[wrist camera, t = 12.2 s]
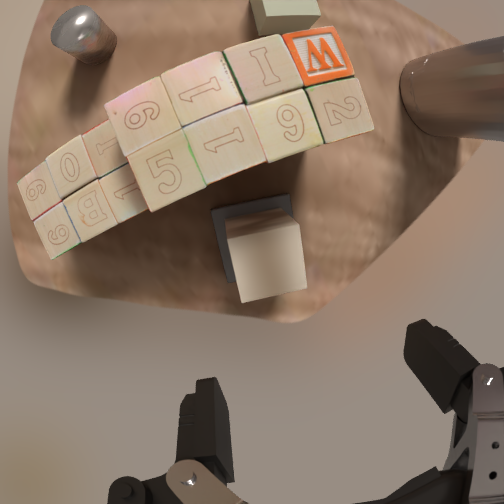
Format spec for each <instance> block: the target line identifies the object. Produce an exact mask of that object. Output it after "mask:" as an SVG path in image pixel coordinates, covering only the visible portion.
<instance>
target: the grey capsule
mask: <svg viewBox="0 0 504 504" xmlns="http://www.w3.org/2000/svg"><path fill="white" fill-rule="evenodd" d="M51 41H52V43H53V45H55V46H56V47H58V48H60V49H61V50H63V51H65V52H67V53H68V54H70V55H72V56H74V57H75V58H77V59H79V60H80V61H82V62H84V63H85V64H88V65H95V64H99V63H101V62H103V61H104V60H106V59H107V58H108V57H109V56H110V55H111V54H112V53H113V51H114V49H115V47H116V44H117V38H116V35H115V33H114V32H113V31H112V30H111V29H110V28H109V27H108V26H107V25H106V23H105V22H104V21H103V20H102V19H101V18H100V17H99V16H98V15H97V14H96V13H95V12H94V11H93V10H92V9H91V8H90V7H89V6H85V5H80V6H76V7H73V8H71V9H69V10H68V11H66V12H65V13H64V14H62V15H61V16H60V17H59V19H58V20H57V21H56V23H55V24H54V26H53V28H52V31H51Z"/></svg>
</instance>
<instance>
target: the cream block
mask: <svg viewBox="0 0 504 504" xmlns="http://www.w3.org/2000/svg"><path fill="white" fill-rule="evenodd" d="M225 226H226V234H227V241H228V246H229V250H230V254H231V259H232V263H233V268H234V272H235V276H236V281H237V285H238V289H239V294H240V298H241V302H242V303H245V302H249V301H254V300H258V299H263V298H267V297H272V296H276V295H280V294H285V293H289V292H293V291H297V290H301V289H305V288H307V282H306V273H305V265H304V257H303V249H302V242H301V234H300V227H299V224H298V223H297V222H296V221H295V220H294V219H293V218H292V217H291V216H290V215H288V214H287V213H286V212H285V211H284V210H283V209H282V208H276V209H271V210H266V211H261V212H256V213H251V214H247V215H242V216H237V217H232V218H228V219H225Z"/></svg>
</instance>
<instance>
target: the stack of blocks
mask: <svg viewBox="0 0 504 504" xmlns="http://www.w3.org/2000/svg"><path fill="white" fill-rule="evenodd" d="M354 75H355V73H354V69H353V66H352V64H351V62H350V59H349V57H348V55H347V52H346V50H345V48H344V46H343V44H342V42H341V39H340V37H339V35H338V33H337V31H336V30H335V28H334V27H333V26H327V27H320V28H314V29H308V30H302V31H297V32H291V33H286V34H283V35H281V36H280V35H278V34H275V35H271V36H267V37H263V38H260V39H256V40H253V41H249V42H246V43H242V44H239V45H236V46H233V47H230V48H227V49H225V50H224V51H222V52H218V51H215V52H212V53H209V54H206V55H203V56H201V57H199V58H196V59H194V60H191V61H188V62H186V63H184V64H181V65H179V66H177V67H174V68H172V69H170V70H168V71H166V72H164V73H162V74H161V75H160V76H158V77H154V78H152V79H150V80H148V81H146V82H144V83H142V84H140V85H138V86H136V87H134V88H132V89H131V90H129V91H127V92H125V93H123V94H121V95H120V96H118V97H116V98H114V99H113V100H111V101H109V102H107V103H106V104H105V105H104V108H105V110H106V113H107V115H108V118H109V119H108V120H106V121H104V122H103V123H101V124H99V125H97V126H96V127H94V128H92V129H91V130H89V131H87V132H86V133H84V134H83V135H79V136H77V137H76V138H74V139H72V140H71V141H69V142H68V143H66V144H65V145H63V146H62V147H60V148H59V149H58V150H56V151H55V152H53V153H52V154H51V155H49V156H48V157H47V158H46V160H45V161H44V162H42V163H41V164H40V165H38V166H37V167H36V168H34V169H33V170H32V171H30V172H29V173H28V174H27V175H26V176H24V177H23V178H22V179H21V180H19V181H18V182H17V184H18V187H19V190H20V193H21V195H22V198H23V200H24V203H25V206H26V208H27V211H28V213H29V216H30V218H31V220H32V221H33V222H34V225H35V227H36V230H37V232H38V234H39V236H40V238H41V240H42V242H43V244H44V247H45V249H46V250H47V253H48V255H49V256H50V258H51V260H53V259H55V258H57V257H58V256H60V255H62V254H63V253H65V252H67V251H68V250H70V249H72V248H74V247H75V246H77V245H78V244H80V243H83V242H86V241H87V240H89V239H91V238H93V237H95V236H97V235H98V234H100V233H102V232H104V231H106V230H108V229H110V228H112V227H114V226H115V225H117V224H119V223H122V222H124V221H126V220H128V219H130V218H132V217H134V216H136V215H138V214H139V213H141V212H143V211H145V210H147V209H149V210H150V212H154V211H156V210H158V209H160V208H163V207H165V206H167V205H169V204H171V203H173V202H175V201H178V200H180V199H182V198H184V197H186V196H188V195H190V194H193V193H195V192H197V191H199V190H202V189H204V188H206V187H207V186H208V185H209V184H211V183H214V182H216V181H219V180H221V179H223V178H226V177H228V176H231V175H233V174H236V173H238V172H240V171H243V170H246V169H248V168H251V167H253V166H256V165H258V164H261V163H263V162H265V163H271V162H274V161H277V160H280V159H283V158H285V157H288V156H291V155H294V154H296V153H299V152H302V151H305V150H308V149H311V148H314V147H318V146H320V145H322V144H329V143H332V142H336V141H339V140H342V139H346V138H349V137H353V136H356V135H360V134H363V133H367V132H370V131H373V130H374V125H373V122H372V119H371V116H370V113H369V110H368V107H367V104H366V101H365V98H364V95H363V92H362V89H361V86H360V83H359V80H358V78H355V77H354Z"/></svg>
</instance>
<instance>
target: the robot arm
mask: <svg viewBox="0 0 504 504" xmlns="http://www.w3.org/2000/svg"><path fill="white" fill-rule="evenodd" d="M400 88H401V95H402V99H403V103H404V105H405V108H406V110H407V112H408V114H409V115H410V117H411V119H412V120H413V121H414V123H415V124H416V125H417V126H418V127H419V128H420V129H421V130H422V131H424V132H426V133H427V134H429V135H433V136H443V137H460V138H473V139H485V140H496V141H503V142H504V36H501V37H497V38H492V39H487V40H482V41H477V42H473V43H469V44H465V45H461V46H457V47H453V48H450V49H446V50H443V51H439V52H436V53H432V54H429V55H426V56H423V57H420V58H417V59H414V60H412V61H410V62H409V63H408V64H407V65H406V66H405V68H404V69H403V71H402V75H401V83H400ZM404 359H405V361H406V363H407V365H408V366H409V368H410V369H411V370H412V371H413V373H414V374H415V375H416V377H417V378H418V379H419V380H420V382H421V383H422V385H423V386H424V387H425V388H426V390H427V391H428V392H429V394H430V395H431V397H432V398H433V399H434V401H435V402H436V403H437V405H438V406H439V408H440V409H441V410H442V412H443V413H444V414H445V413H447V412H449V411H451V410H452V409H453V410H454V411H455V414H454V419H453V429H452V437H451V444H450V450H449V454H448V457H447V460H446V462H445V465H444V468H443V470H442V471H438V470H437V468H436V467H433V468H432V469H430V470H428V471H426V472H424V473H423V474H421V475H419V476H417V477H415V478H413V479H411V480H410V481H408V482H407V483H406V484H404V485H403V486H402V487H400V488H399V489H398V490H396V491H395V492H393V493H392V494H391V495H389V496H388V497H387V498H384V499H380V500H375V501H368V502H362V503H355V504H504V367H503V368H498V367H497V366H495V365H493V364H488V363H486V364H480V363H479V362H478V361H477V360H476V359H475V358H474V357H473V356H472V355H471V354H470V353H469V352H468V351H467V350H466V349H465V348H464V347H463V346H462V345H460V344H459V342H458V341H457V340H456V339H454V338H453V336H451V335H450V334H449V333H448V332H447V331H446V330H444V329H442V328H440V327H438V326H435V327H433V326H432V325H431V324H430V323H429V322H428V321H427V320H425V319H421V320H419V321H417V322H414V323H411V324H409V325H408V327H407V332H406V339H405V346H404ZM179 416H180V418H179V427H178V439H177V451H176V461H175V463H174V465H172V466H171V467H170V469H169V470H168V472H167V473H165V474H164V475H162V476H159V477H156V478H152V479H149V480H145V481H139V480H138V479H136V478H134V477H129V476H126V477H121V478H118V479H117V480H115V481H114V482H113V483H112V485H111V486H110V488H109V494H108V503H107V504H248V503H247V502H245V501H243V500H241V499H240V498H239V497H238V496H236V494H234V493H233V492H232V491H231V490H230V489H229V488H227V483H231V482H235V481H234V470H233V459H232V447H231V435H230V422H229V411H228V407H227V403H226V400H225V398H224V395H223V393H222V390H221V388H220V385H219V383H218V380H217V378H216V377H212V378H206V379H200V380H197V381H196V393H193V394H187V395H186V396H185V398H184V399H183V401H182V403H181V405H180V414H179Z"/></svg>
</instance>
